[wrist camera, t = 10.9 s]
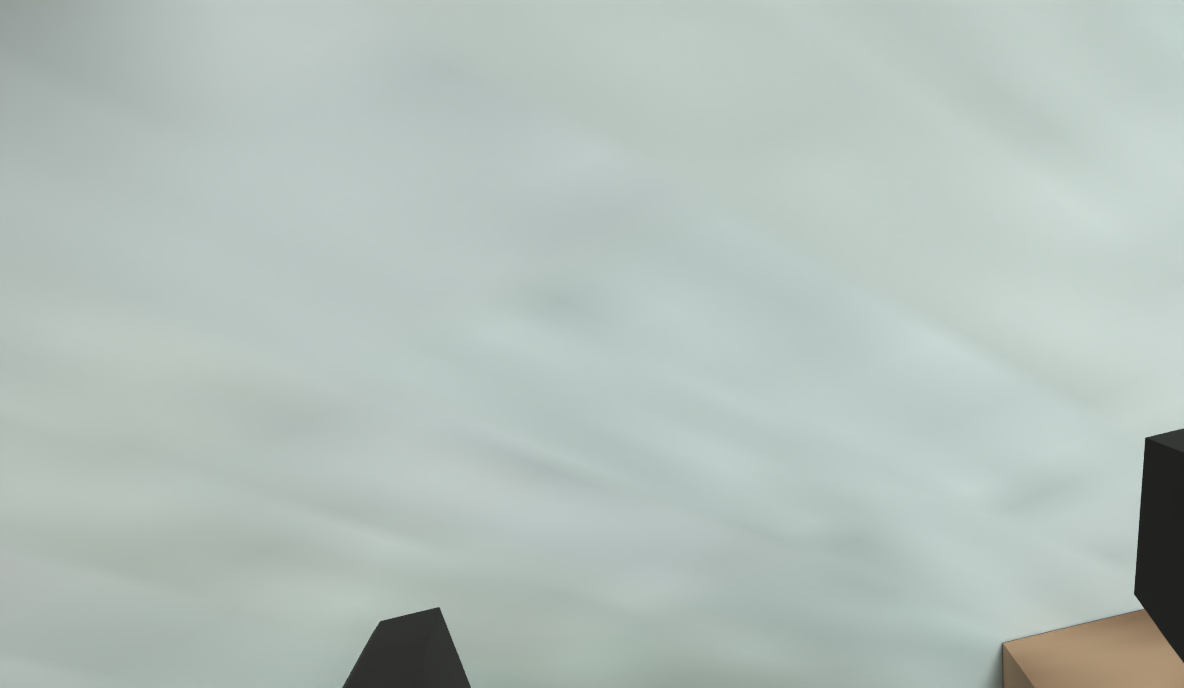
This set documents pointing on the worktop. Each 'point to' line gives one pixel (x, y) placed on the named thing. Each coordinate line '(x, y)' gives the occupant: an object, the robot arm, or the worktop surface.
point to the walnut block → (1095, 656)
